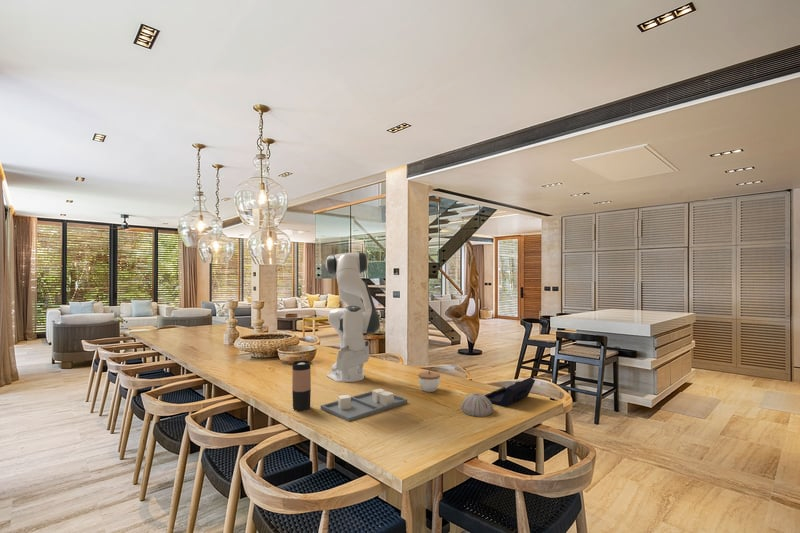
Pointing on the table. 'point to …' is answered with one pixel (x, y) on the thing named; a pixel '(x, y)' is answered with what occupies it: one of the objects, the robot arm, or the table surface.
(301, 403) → the travel mug
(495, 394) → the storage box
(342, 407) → the limestone block
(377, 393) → the limestone block
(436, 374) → the lidded jar
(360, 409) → the divided tray
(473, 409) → the sea urchin shell
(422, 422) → the table surface
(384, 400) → the limestone block
